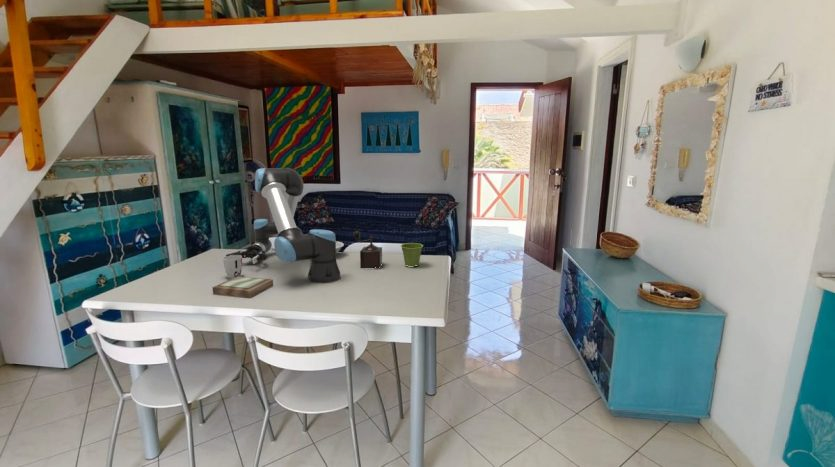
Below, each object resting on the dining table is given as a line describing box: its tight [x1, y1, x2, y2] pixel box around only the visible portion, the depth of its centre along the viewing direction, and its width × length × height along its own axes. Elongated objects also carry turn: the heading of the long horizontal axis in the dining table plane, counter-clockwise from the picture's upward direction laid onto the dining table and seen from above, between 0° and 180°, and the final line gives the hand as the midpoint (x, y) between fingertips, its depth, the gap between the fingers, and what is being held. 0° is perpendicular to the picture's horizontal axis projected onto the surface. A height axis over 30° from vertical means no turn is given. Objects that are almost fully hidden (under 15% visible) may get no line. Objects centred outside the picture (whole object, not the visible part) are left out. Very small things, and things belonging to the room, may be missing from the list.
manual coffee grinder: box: [352, 230, 383, 269], centre depth 208 cm, size 16×11×18 cm
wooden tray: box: [211, 275, 274, 299], centre depth 171 cm, size 18×16×3 cm
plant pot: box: [400, 242, 424, 266], centre depth 209 cm, size 12×12×11 cm
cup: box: [222, 255, 243, 280], centre depth 188 cm, size 8×8×10 cm
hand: (239, 261), depth 195 cm, fingers open, 13 cm apart
